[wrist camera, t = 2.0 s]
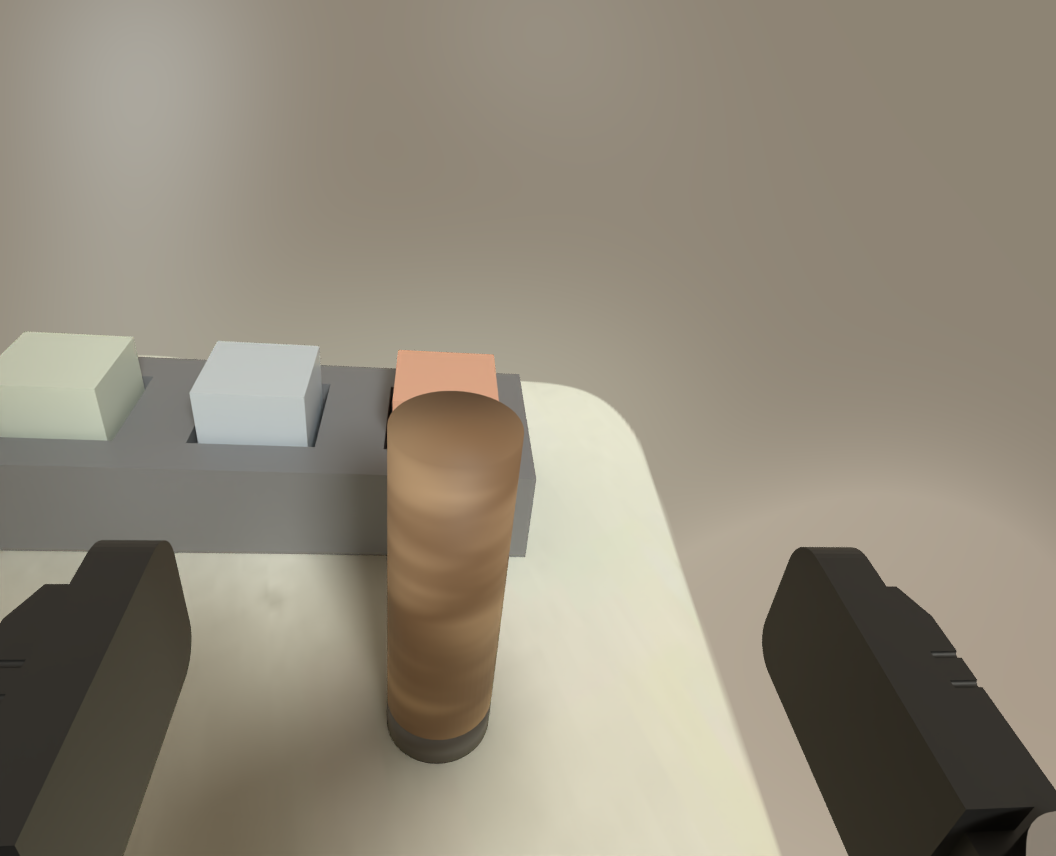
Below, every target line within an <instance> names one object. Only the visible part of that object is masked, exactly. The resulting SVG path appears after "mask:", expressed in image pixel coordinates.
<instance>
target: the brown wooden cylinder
mask: <svg viewBox="0 0 1056 856" xmlns="http://www.w3.org/2000/svg"><path fill="white" fill-rule="evenodd" d="M523 440H524V427H523V424H522V422H521V420H520V418H519V417H518V415H517V414H516V413H515V412H514V411H513V410H512V409H510V408H509V407H508V406H506V405H505V404H503V403H501V402H499V401H497V400H495V399H493V398H490V397H487V396H484V395H481V394H476V393H471V392H464V391H437V392H430V393H426V394H422V395H418V396H415V397H413V398H411V399H408V400H407V401H405V402H403V403H402V404H400V405H399V406H398V407H397V408H395V409H394V411H393V412H392V413H391V415H390V417H389V419H388V423H387V724H388V730H389V733H390V736H391V738H392V740H393V741H394V743H395V744H396V746H397V747H398V748H399V749H400V750H401V751H402V752H404V753H405V754H406V755H408V756H409V757H411V758H413V759H416V760H418V761H422V762H426V763H435V764H439V763H447V762H452V761H455V760H458V759H460V758H462V757H464V756H466V755H467V754H469V753H470V752H471V751H473V750H474V749H475V748H476V747H477V746H478V744H479V743H480V742H481V740H482V739H483V737H484V735H485V733H486V730H487V726H488V720H489V712H490V704H491V696H492V688H493V680H494V672H495V664H496V656H497V648H498V640H499V632H500V624H501V616H502V608H503V600H504V592H505V584H506V576H507V568H508V560H509V552H510V544H511V536H512V528H513V520H514V512H515V504H516V496H517V488H518V480H519V472H520V464H521V456H522V448H523Z"/></svg>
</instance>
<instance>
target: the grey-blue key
mask: <svg viewBox="0 0 1056 856" xmlns="http://www.w3.org/2000/svg"><path fill="white" fill-rule="evenodd" d="M189 394H190V400H191V405H192V411H193V417H194V422H195V428H196V434H197V440H198V443H201V444H233V445H265V446H296V447H315V444H316V440H317V436H318V432H319V428H320V424H321V420H322V416H323V399H322V382H321V365H320V348H319V346H307V345H287V344H267V343H246V342H226V341H217V343H216V345H215V347H214V349H213V350H212V352H211V354H210V356H209V358H208V360H207V361H206V363H205V365H204V367H203V369H202V371H201V372H200V374H199V376H198V378H197V380H196V382H195V383H194V385H193V387H192V389H191V391H190V393H189Z"/></svg>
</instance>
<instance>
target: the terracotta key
mask: <svg viewBox="0 0 1056 856" xmlns="http://www.w3.org/2000/svg"><path fill="white" fill-rule="evenodd" d="M437 391H464V392H471V393H476V394H481V395H484V396H487V397H490V398H493V399H495V400H497V401H499V397H498V388H497V379H496V371H495V361H494V355H490V354H469V353H449V352H428V351H409V350H398V357H397V366H396V375H395V384H394V393H393V411H394V409H395V408H397V407H398V406H399V405H400V404H402V403H403V402H405V401H407V400H408V399H411V398H413V397H415V396H418V395H422V394H426V393H430V392H437Z"/></svg>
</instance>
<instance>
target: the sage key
mask: <svg viewBox="0 0 1056 856" xmlns="http://www.w3.org/2000/svg"><path fill="white" fill-rule="evenodd" d="M144 391H145V388H144V384H143V379H142V374H141V370H140V365H139V360H138V356H137V351H136V346H135V342H134V337H125V336H104V335H85V334H84V335H83V334H63V333H43V332H24V333H23V334H22V335H21V336H20V337H19V338H18V339H17V340H16V341H15V342H14V343H13V344H12V345H11V346H9V347H8V348H7V349H6V350H5V351H4V352H3V353H2V354H1V355H0V437H10V438H42V439H74V440H106V441H112V440H113V439H114V437H115V435H116V434H117V432H118V431H119V429H120V428H121V426H122V425H123V423H124V422H125V420H126V418H127V417H128V415H129V414H130V412H131V411H132V409H133V408H134V406H135V404H136V403H137V401H138V400H139V398H140V397H141V395H142V394H143V392H144Z"/></svg>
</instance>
